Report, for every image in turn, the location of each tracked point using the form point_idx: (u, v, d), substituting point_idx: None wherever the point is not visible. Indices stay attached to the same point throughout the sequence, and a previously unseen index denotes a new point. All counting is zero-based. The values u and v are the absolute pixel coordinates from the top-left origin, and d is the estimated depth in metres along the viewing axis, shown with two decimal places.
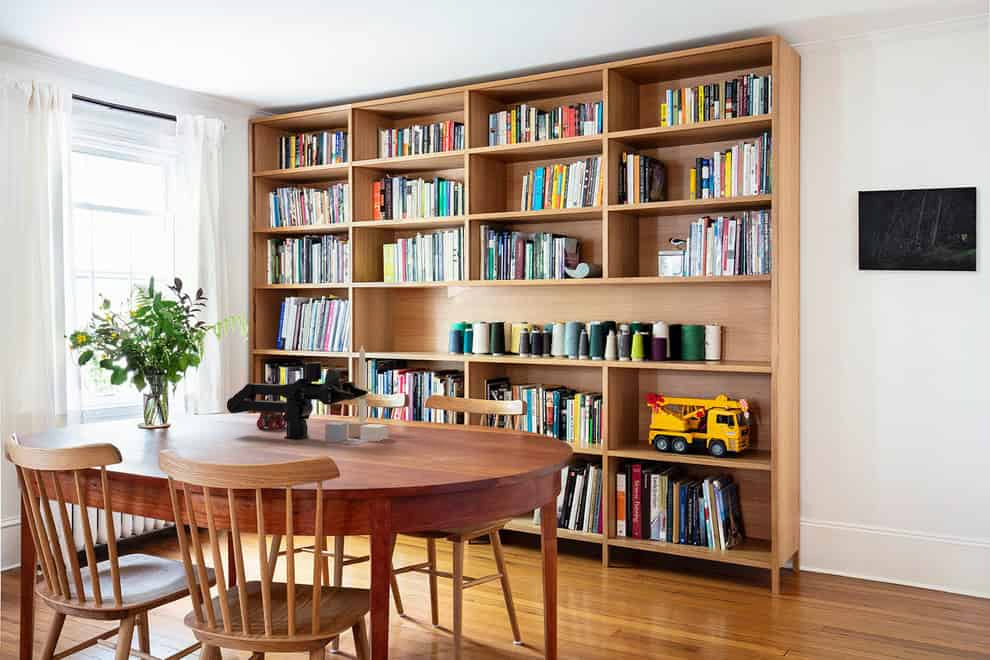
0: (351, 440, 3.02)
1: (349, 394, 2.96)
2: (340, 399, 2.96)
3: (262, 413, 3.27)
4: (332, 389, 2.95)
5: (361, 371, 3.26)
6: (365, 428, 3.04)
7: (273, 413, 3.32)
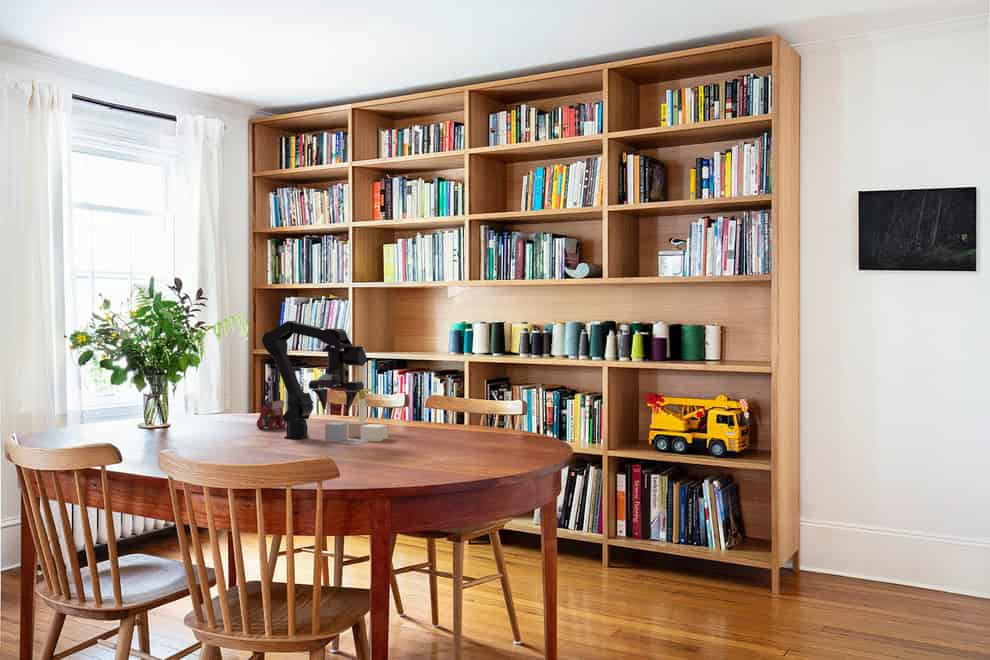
0: (351, 440, 3.02)
1: None
2: None
3: (262, 413, 3.27)
4: (314, 391, 3.04)
5: (361, 371, 3.26)
6: (365, 428, 3.04)
7: (273, 413, 3.32)
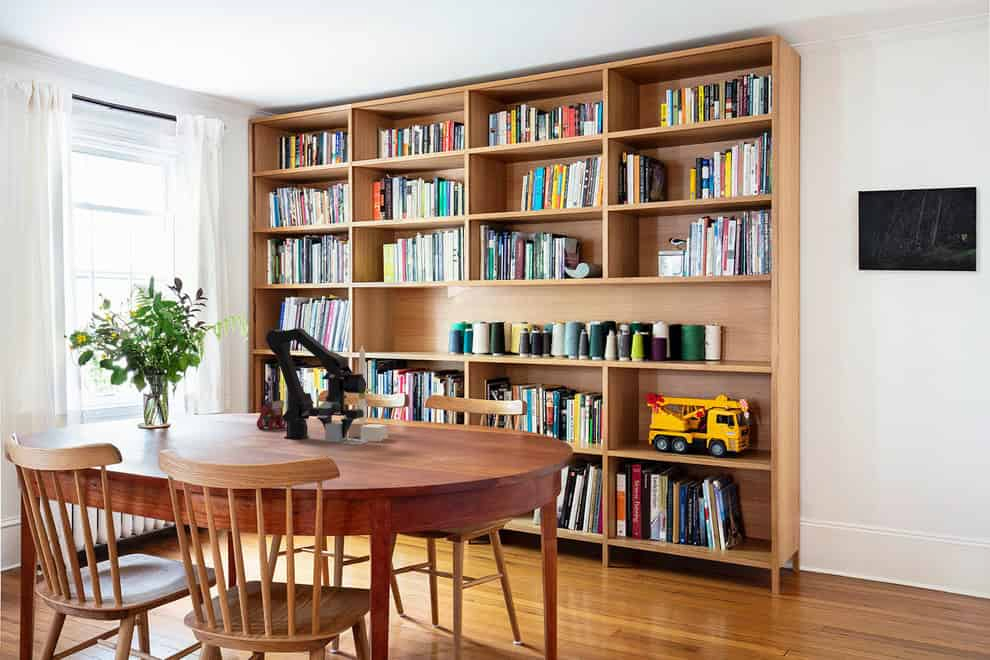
0: (351, 440, 3.02)
1: None
2: None
3: (262, 413, 3.27)
4: None
5: (361, 371, 3.26)
6: (365, 428, 3.04)
7: (273, 413, 3.32)
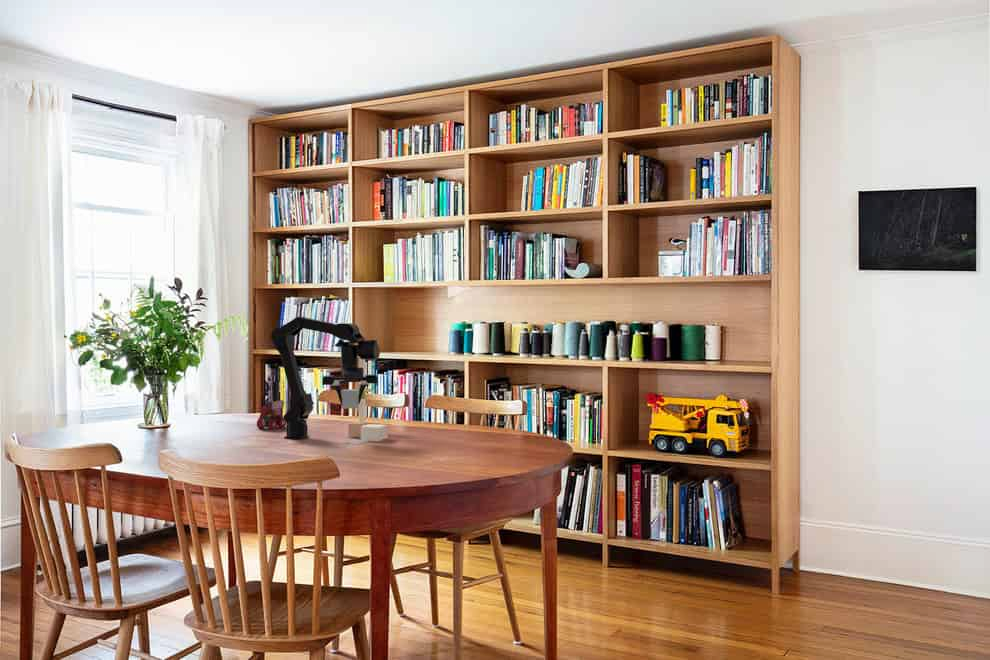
0: (351, 440, 3.02)
1: (340, 401, 3.03)
2: None
3: (262, 413, 3.27)
4: (333, 386, 3.01)
5: None
6: (366, 428, 3.04)
7: (273, 413, 3.32)
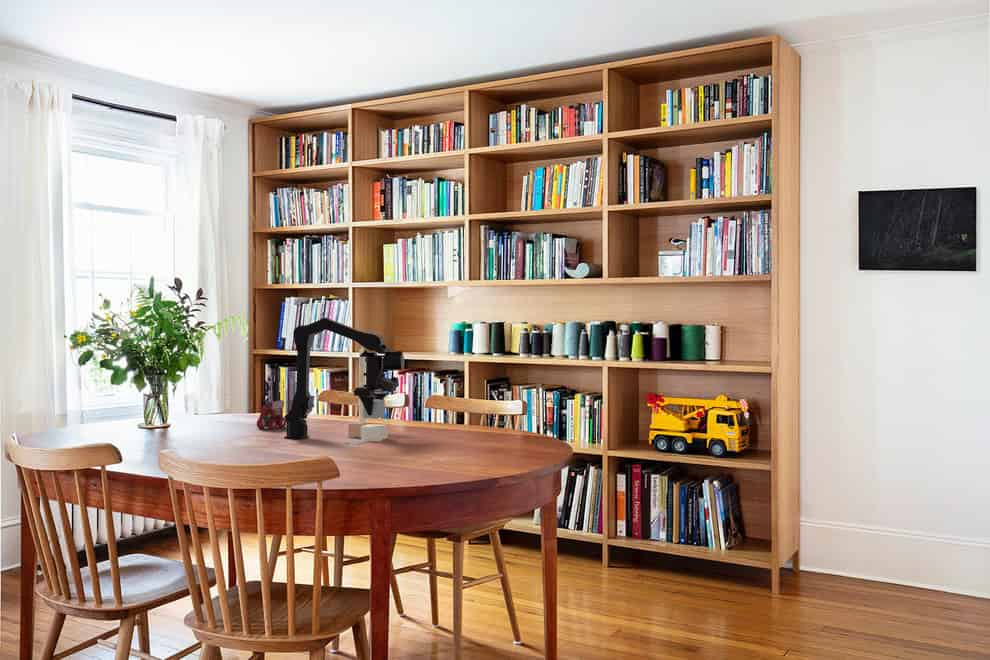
0: (351, 440, 3.02)
1: (369, 411, 3.03)
2: (364, 403, 3.03)
3: (262, 413, 3.27)
4: (371, 397, 3.00)
5: (361, 371, 3.26)
6: (366, 428, 3.04)
7: (273, 413, 3.32)
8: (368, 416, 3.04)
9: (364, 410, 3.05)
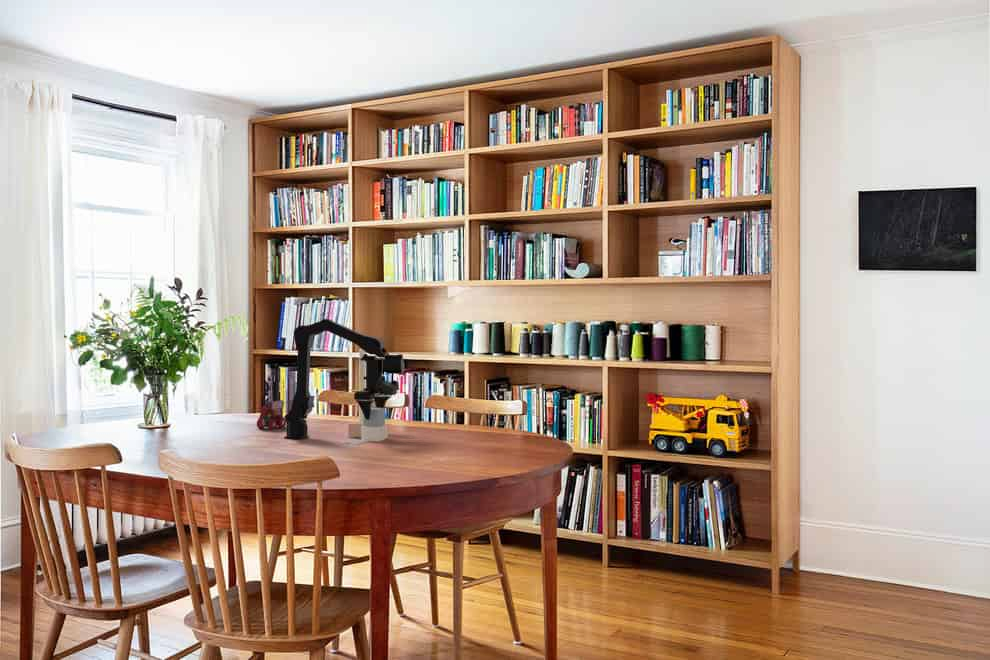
0: (351, 440, 3.02)
1: (367, 416, 3.02)
2: (362, 407, 3.01)
3: (262, 413, 3.27)
4: (368, 402, 2.99)
5: (361, 371, 3.26)
6: (366, 428, 3.04)
7: (273, 413, 3.32)
8: (368, 424, 3.04)
9: (364, 418, 3.05)
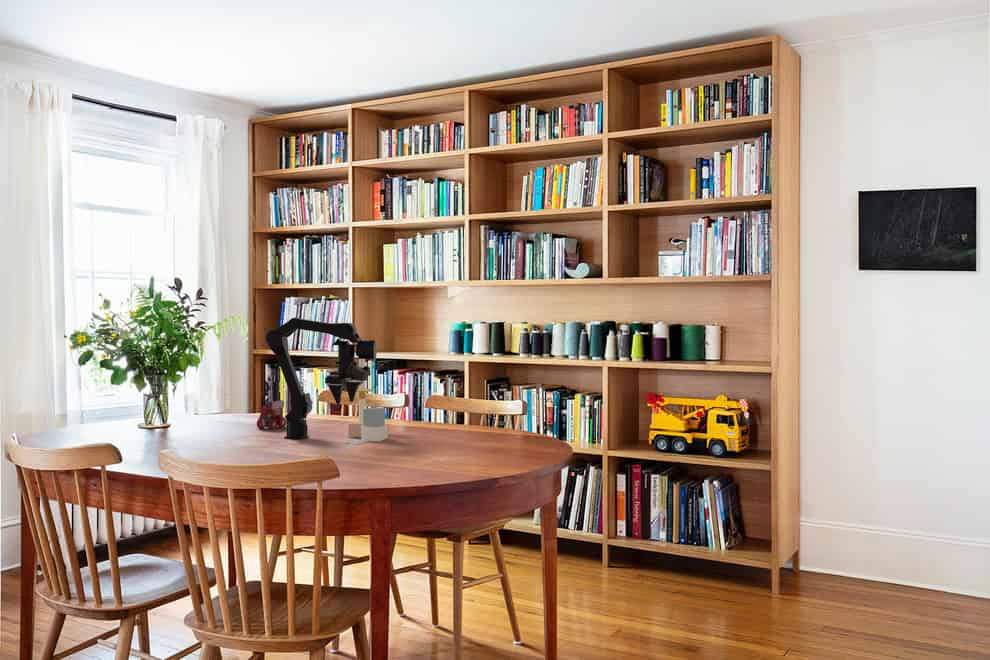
0: (351, 440, 3.02)
1: (338, 400, 3.03)
2: (332, 392, 3.03)
3: (262, 413, 3.27)
4: (339, 386, 3.00)
5: None
6: (366, 428, 3.04)
7: (273, 413, 3.32)
8: (368, 425, 3.04)
9: (364, 419, 3.05)
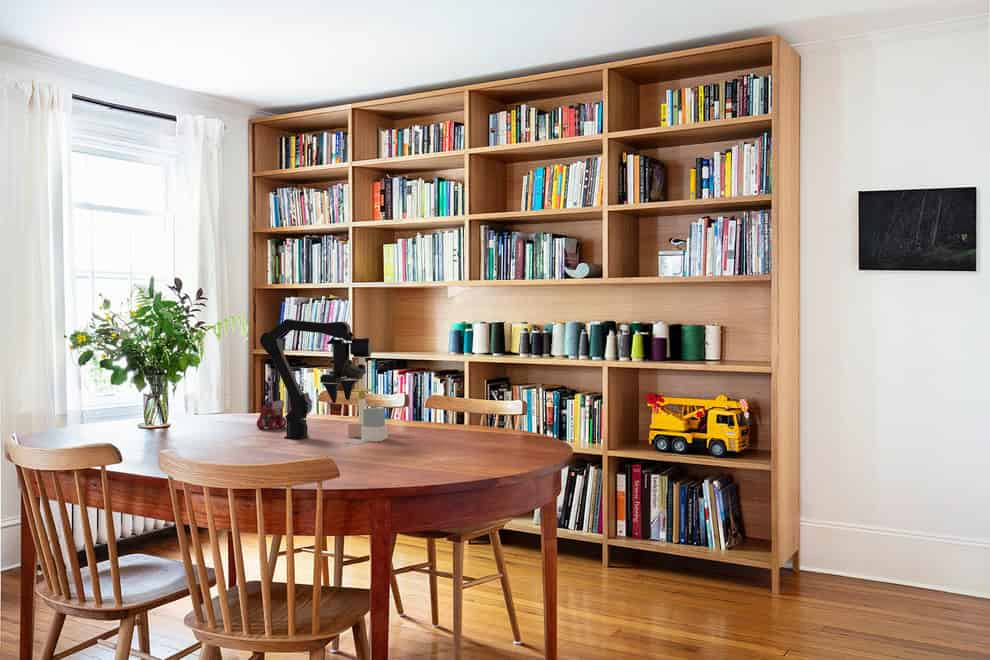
0: (351, 440, 3.02)
1: (334, 399, 3.04)
2: (328, 390, 3.03)
3: (262, 413, 3.27)
4: (335, 385, 3.01)
5: None
6: (366, 428, 3.03)
7: (273, 413, 3.32)
8: (368, 425, 3.04)
9: (364, 419, 3.04)
